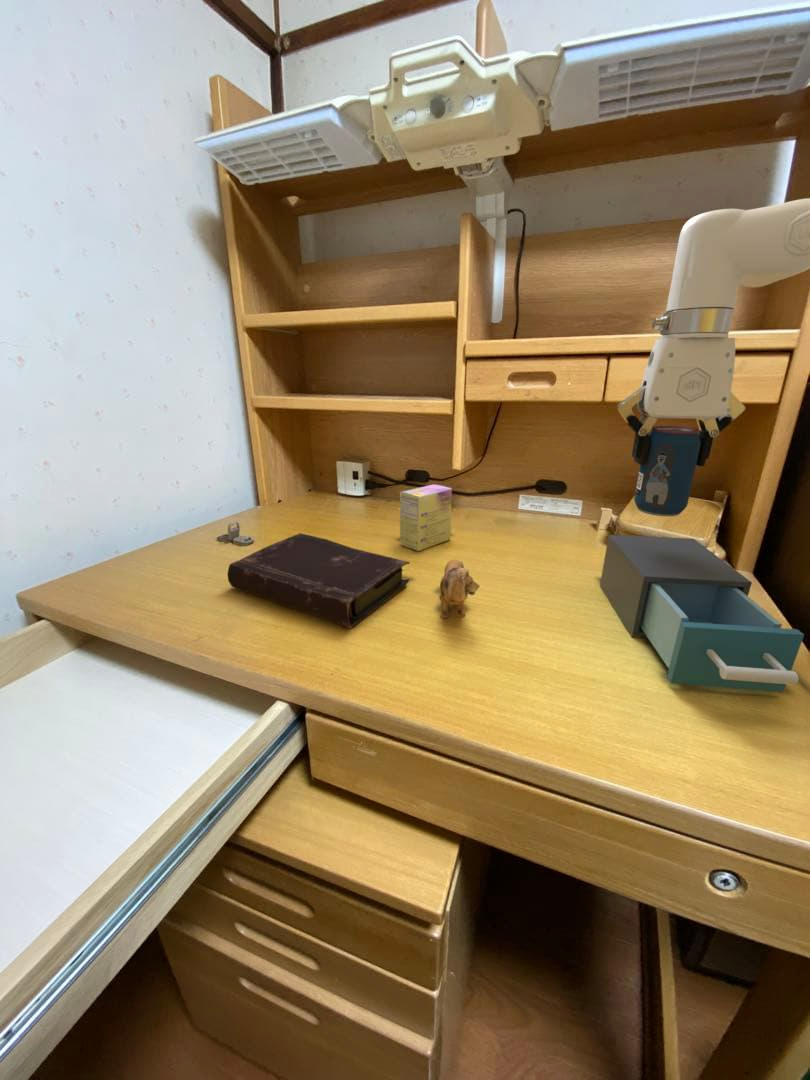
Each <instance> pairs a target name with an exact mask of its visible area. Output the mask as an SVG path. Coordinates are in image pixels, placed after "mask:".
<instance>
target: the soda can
mask: <svg viewBox="0 0 810 1080" xmlns="http://www.w3.org/2000/svg"><path fill="white" fill-rule="evenodd" d="M699 432H700V429H699V428H695V427H688V426H681V425H680V426H679V425H656V426H655V425H653V427H652V428H651V430H650V431H649V434H648V436H650V437H651V442H650V447H649V452H648V458H647V463H646V464H645V465H640V464H639V465H640V466H639V470H638V476H637V482H636V486H635V493H634V498H633V500H634V503H635V506H636V508H637V510H638V511H639V512H641V513H644V514H647V515H651V516H658V517H676V516H679V515H680V514H681V513H682V512H683V511H684V510H685V509H686V508H687V507H688V503H689V500H690V495H691V491H692V486H693V480H694V477H695V472H696V468H697V465H696V464H697V459H698V455H699V450H700V445H701V441H700V438H699V435H698V434H699Z"/></svg>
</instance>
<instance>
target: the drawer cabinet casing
mask: <svg viewBox="0 0 810 1080" xmlns="http://www.w3.org/2000/svg"><path fill="white" fill-rule="evenodd" d="M649 582H663V583H680V584H697V585H715V586H732V587H737V588H738V589H739V590H741V591H742V592H743V593H744V594H746V595H747V596H748V597H749V594H750V590H751V586H752V581H751V580H749V579H748V578H746V577H745V576H744V575H743V574H741V573H740V572H739V571H738V570H736V569H735V568H733V566H731V565H730V564H729V563H727V562H726V561H724V560H723V559H722V558H720V557H719V556H718V555H716V554H715V553H714V552H712V551H711V550H710V549H708V548H707V547H706V546H705V545H703V544H701V542H699V541H697V539H695V538H689V537H688V538H687V537H686V538H684V537H665V536H646V535H645V536H644V535H625V534H608V537H607V543H606V549H605V553H604V559H603V565H602V571H601V576H600V582H599V587H600V588H601V590H602V591H603V593H604V595H605V597H606V598H607V600H608V601H609V603H610V604H611V606H612V608H613V609H614V611H615V613H616V614H617V616H618V618H619V620H620V621H621V623H622V624H623V625H624V627H625V629H626V630H627V632H628V634H629V635H630V637H631V638H639V639H640V638H641V639H642V638H643V639H648V637H647V636H646V634H645V633H644V631H643V630H642V628H641V627H640V622H641V617H642V613H643V608H644V604H645V599H646V595H647V590H648V586H649Z"/></svg>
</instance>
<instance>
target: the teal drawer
mask: <svg viewBox="0 0 810 1080" xmlns="http://www.w3.org/2000/svg"><path fill="white" fill-rule="evenodd" d="M782 626H783V624H782V622H780V620H778V619H777V618H775V617H774V616H773V615H772V614H771V613H769V612H768V611H767V610H766V609H764V608H763V607H762V606H760V605H759V604H758V603H757V602H756V601H754V600H753V599H752V598H750V596H749V595H748V596H747V595H746V594H744V593H743V592H742V591H741V590H739V589H738V588H737V587H732V586H715V585H697V584H680V583H663V582H649V586H648V590H647V595H646V599H645V604H644V608H643V613H642V617H641V622H640V627H641V628H642V630H643V631H644V633H645V634H646V636H647V637H648V638H647V639H648V641H649V642H650V644H651V645H652V646H653V648H654V649H655V650H656V652H657V653H658V655H659V656H660V658H661V660H662V661H663V662H664V665H666V667H667V669H668V671H667V675H666V678H667V680H668V681H669V683H670V684H673V685H685V686H696V687H697V686H698V687H710V688H711V687H712V688H721V689H735V690H747V691H761V692H773V693H784V692H785V689H786V686H787V685H793V686H795V685H798V683H799V679H800V678H799V675H798V673H797V672H796V671H794V670H793V667H794V665H795V661H796V659H797V656H798V654H799V650H800V648H801V646H802V643H803V640H804V637H805V634H804V633H803V632H801V631H800V630H799V629H798V628H783V627H782Z"/></svg>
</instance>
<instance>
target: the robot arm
mask: <svg viewBox="0 0 810 1080" xmlns="http://www.w3.org/2000/svg"><path fill="white" fill-rule="evenodd" d="M809 270H810V197H809V198H808V197H807V198H801V199H800V198H799V199H795V200H790V201H786V202H782V203H777V204H773V205H767V206H762V207H757V208H751V209H741V208H722V209H716V210H710V211H706V212H702V213H700V214H698V215H695V216H693V217H691V218H689V219H688V220H687V221H686V222H685V224H683V226H682V227H681V230H680V233H679V237H678V243H677V249H676V254H675V260H674V265H673V271H672V275H671V276H672V277H671V280H670V287H669V293H668V299H667V304H666V308H665V309H666V310H665V313H663V315H662V316H660V317H654V318H653V320H652V324H651V328H652V330H658V331H659V334H660V336H661V337H660V338H657V339H655V341H654V344H653V346H652V349H651V351H650V355H649V357H648V361H647V363H646V367H645V370H644V373H643V377H642V381H641V385H640V388H639V389H637V390H636V391H634V392H633V393H632V394H630V395H628V396H627V397H626V398H625V399H623V400H622V401H620V402H619V403H618V404H617V405H616V410H617V412H618V413H619V414H620V416H621V417H622V419H623V420H624V422H625V423H626V425H627V426H628V427H629V428H630V430H632V432H633V433H634V440H633V444H632V451H631V457H632V458H633V461H634V463H636V464H638V465H645V464H646V463H647V458H648V452H649V447H650V442H651V437H650V436H648V435H649V433H650V432H651V431H652V427H654V426H655V424H656V423H657V422H658V420H659V419H695V420H696V423H697V426H698V430H699V432H698V435H699V438H700V441H701V445H700V450H699V455H698V459H697V464H696V467H705V465H706V461H707V460H708V459H709V457H710V454H711V449H712V445H713V442H714V438H716V437H718V436H719V434H720V432H722V431H723V430H725V429H726V428H727V427H728V426H730V425H731V424H732V421H734V420H735V419H737V418H738V417H739V416H740V415H741V414H743V412H744V411H746V406H745V405H744V404H743V403H742V402H741V401H740V400H739V399H738V398H737V396H735V395H734V394H733V393H732V387H733V381H734V373H735V364H736V338H735V337H729V333H730V329H731V325H732V320H733V316H734V311H735V310H734V309H735V306H736V302H737V298H738V295H739V294H738V293H739V289H740V286H741V287H746V288H762V287H766V286H768V285H770V284H774V283H775V282H779V281H781V280H785V279H788V278H790V277H793V276H796V275H799V274H801V273H804V272H807V271H809ZM634 406H637V410H638V412H639V413H641V414H642V415H641V416H640V417H637V416H636V415H635V413H634V411H633V407H634Z"/></svg>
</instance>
